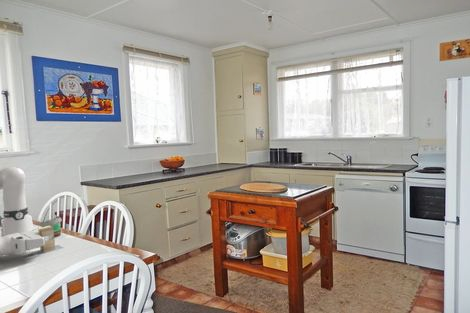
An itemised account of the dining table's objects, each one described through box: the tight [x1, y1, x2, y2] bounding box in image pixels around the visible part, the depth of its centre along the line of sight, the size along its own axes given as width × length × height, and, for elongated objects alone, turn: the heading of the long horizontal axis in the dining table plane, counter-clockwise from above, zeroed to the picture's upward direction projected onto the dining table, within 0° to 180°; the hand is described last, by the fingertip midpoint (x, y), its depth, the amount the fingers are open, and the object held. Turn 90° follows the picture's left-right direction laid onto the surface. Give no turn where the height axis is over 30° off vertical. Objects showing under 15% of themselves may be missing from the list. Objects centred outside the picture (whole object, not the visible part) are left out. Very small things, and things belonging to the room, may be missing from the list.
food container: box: [40, 215, 63, 239], centre depth 187 cm, size 12×6×10 cm, turn 168°
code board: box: [28, 243, 65, 256], centre depth 169 cm, size 19×12×1 cm, turn 48°
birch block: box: [37, 226, 56, 253], centre depth 165 cm, size 5×5×11 cm
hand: (48, 234), depth 165 cm, fingers open, 8 cm apart
